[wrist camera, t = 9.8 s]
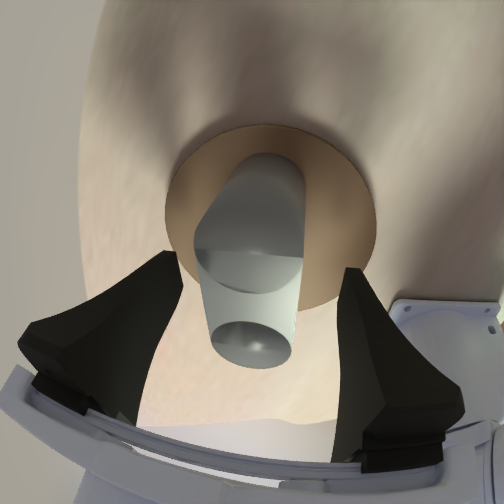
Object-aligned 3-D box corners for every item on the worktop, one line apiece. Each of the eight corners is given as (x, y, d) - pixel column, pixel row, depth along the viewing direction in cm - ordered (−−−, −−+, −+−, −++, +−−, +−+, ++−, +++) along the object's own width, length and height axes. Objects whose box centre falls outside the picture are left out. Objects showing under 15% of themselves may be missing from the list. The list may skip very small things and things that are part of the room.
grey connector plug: (228, 151, 12) (186, 199, 8) (308, 154, 12) (308, 206, 8) (239, 318, 19) (220, 384, 15) (292, 325, 18) (284, 393, 14)
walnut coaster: (389, 136, 11) (394, 140, 11) (352, 310, 18) (353, 319, 17) (157, 127, 13) (150, 131, 12) (186, 293, 19) (182, 301, 19)
